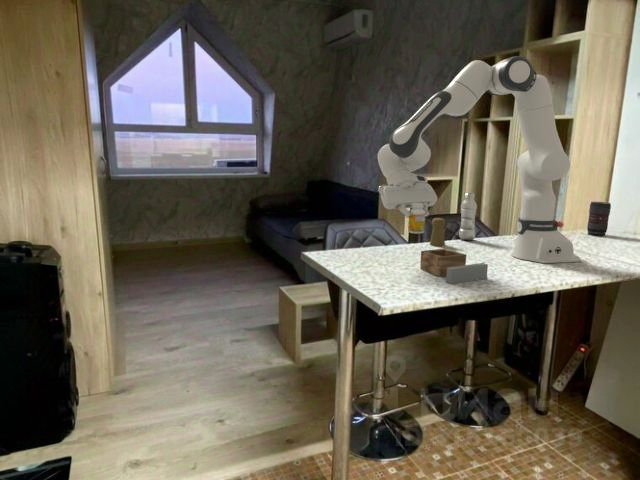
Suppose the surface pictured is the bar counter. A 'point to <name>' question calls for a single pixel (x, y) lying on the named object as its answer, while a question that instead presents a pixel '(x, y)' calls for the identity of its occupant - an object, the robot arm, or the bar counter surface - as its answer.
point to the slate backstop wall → (466, 273)
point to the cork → (437, 232)
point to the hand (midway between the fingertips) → (418, 216)
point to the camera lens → (598, 218)
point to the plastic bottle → (468, 217)
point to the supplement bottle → (417, 219)
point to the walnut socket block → (441, 260)
